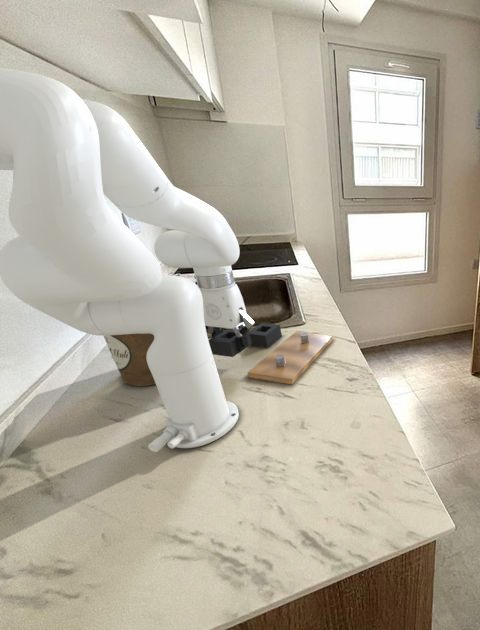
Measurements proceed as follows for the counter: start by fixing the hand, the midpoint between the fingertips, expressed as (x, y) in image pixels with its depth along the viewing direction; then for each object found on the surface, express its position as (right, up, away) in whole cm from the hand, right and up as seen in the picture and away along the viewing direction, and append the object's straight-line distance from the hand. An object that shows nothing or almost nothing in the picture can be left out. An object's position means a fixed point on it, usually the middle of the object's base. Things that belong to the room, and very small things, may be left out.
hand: (232, 346), depth 84 cm
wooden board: (+14, -3, +6) cm, 15 cm away
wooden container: (-18, -6, 0) cm, 19 cm away
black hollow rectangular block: (0, -1, 0) cm, 1 cm away
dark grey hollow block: (+2, +1, +14) cm, 14 cm away
